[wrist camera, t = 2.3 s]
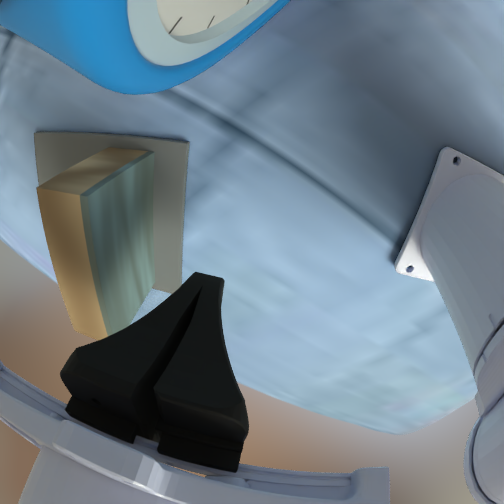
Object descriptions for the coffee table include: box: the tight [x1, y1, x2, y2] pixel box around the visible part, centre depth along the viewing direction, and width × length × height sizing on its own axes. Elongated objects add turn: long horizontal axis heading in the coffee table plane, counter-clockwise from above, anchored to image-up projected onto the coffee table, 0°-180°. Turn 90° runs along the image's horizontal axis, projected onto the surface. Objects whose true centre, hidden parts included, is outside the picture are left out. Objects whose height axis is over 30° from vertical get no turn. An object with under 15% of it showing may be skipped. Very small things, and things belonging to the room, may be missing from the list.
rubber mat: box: [34, 132, 190, 294], centre depth 17 cm, size 12×10×1 cm
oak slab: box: [37, 147, 155, 341], centre depth 15 cm, size 3×9×6 cm, turn 171°
